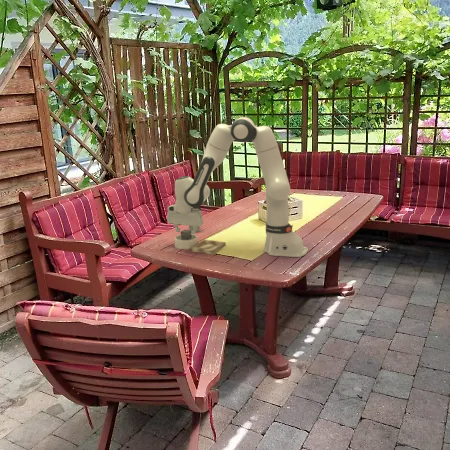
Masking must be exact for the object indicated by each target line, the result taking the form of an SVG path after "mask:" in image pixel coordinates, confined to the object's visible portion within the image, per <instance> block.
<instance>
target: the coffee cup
mask: <svg viewBox="0 0 450 450" xmlns="http://www.w3.org/2000/svg"><path fill="white" fill-rule="evenodd" d="M193 208H195V209H200V210H201V211H202V212H203V210H202V207H201V205H200V206H199V207H193ZM200 210H199V211H200ZM200 227H201V226H200ZM200 227H197V228H196V230H195V234H196V233H200ZM193 229H194V228H193V226H188V230H191V231H192V230H193ZM191 234H192V232H191Z"/></svg>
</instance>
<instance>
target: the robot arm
mask: <svg viewBox="0 0 450 450" xmlns="http://www.w3.org/2000/svg"><path fill="white" fill-rule="evenodd" d="M209 136H210V137H209V138H208V140H207V143H206V146H205V149H204V152H203V157H202V160H201V162H200V165H199V167H198V169H197V172H196V175H195V177H194V178H192V177H191V176H190V175H185V176H184V175H183V176H181V177H178V178H176V179H175V183H174V195H175V203H173V204H171V205H169V206H167V214H166V219H167V223H168V224H171V225H173V227H174V229H175V232H176V233H181V228H179V226H178V225H181V226H188V227H189V226H193V228H194V229H193V230H192V231H191V232H192V233H191V234H194V235H196V233H195V230H196V228H197V227H202V226H203V225H204V219H203V210H202V209H201V210H202V211H201V210H200V209H195V208H193V207H199V206H200V207H201V205H202V204H203V203H204V202H205V201H206V200H207V199H208V198H209V197H210V195H211V189H210V186H209V185H208V184H207V183H208V181H209V179H210V176H211V175H212V173H213V172H214V171H215V170H216V168H218V167H219V166H220V165H221V164H223V161H224V160H225V158H226V157H227V155H228V153H229V150H230V148H231V145H232V143H233V142H234V141H236V142H240V143H252V145H253V147H254V150H255V154H256V156H257V161H258V163H259V164H258V165H259V167H260V170H261V173H262V174H261V175H262V177H263V180H264V184H265V199H266V200H265V203H266V223H265V234H266V235H265V242H264V247H263V251H264V252H265V253H267V254H268V255H269V256H275V257H291V258H301V257H303V256H305V255H307V254H308V251H309V249H308V247H307V246H304V240H303V239H302V237H300V235H298V234H296V233H295V231H293V227H294V225H293V224H292V225H291V224H290V223H289V217H290V216H289V213H290V211H289V210H290V209H289V198H288V197H289V195H290V193H291V185H290V182H289V177H288V176H287V175H288V174H287V172H286V169H285V168H286V167H285V165H284V162H283V160H282V158H283V157H282V156H281V153H280V148H279V146H278V141H277V139H276V136H275V133H274V131H273V129H272V128H271V127H270V126H267V125H260V126H256V123H255V121H254V120H253V119H252V118H251V117H248V116H241V117H239V118H236V119H235V120H234V121H233V122H232V123H231V124H230V125H229V124H225V123H219V124H217V125H216V126H215V127H214V129H213V131H212V132H211V134H210V135H209ZM199 210H200V211H199Z"/></svg>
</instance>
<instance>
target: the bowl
mask: <svg viewBox="0 0 450 450" xmlns="http://www.w3.org/2000/svg"><path fill="white" fill-rule="evenodd" d="M191 237H192V238H191V239H192V240H184V241H183V240H181V234H177V235H175V236H174V248H176V249H178V250H191V247H193V246H194V245H196V244H197V243H199V242H198V235H196V234H192V233H191Z"/></svg>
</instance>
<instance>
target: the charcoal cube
mask: <svg viewBox="0 0 450 450" xmlns="http://www.w3.org/2000/svg"><path fill="white" fill-rule="evenodd" d="M191 234H192V233H191V230H189V229H183V230H180V235H181V239H186V240H188V239H190V238H192V237H191Z"/></svg>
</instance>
